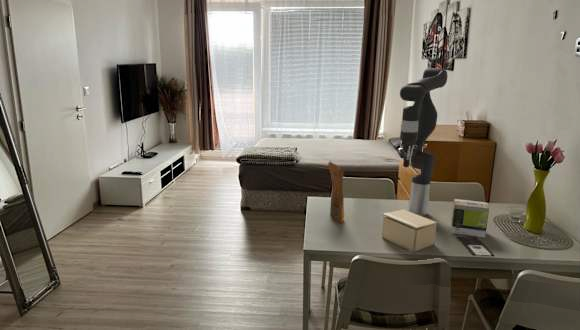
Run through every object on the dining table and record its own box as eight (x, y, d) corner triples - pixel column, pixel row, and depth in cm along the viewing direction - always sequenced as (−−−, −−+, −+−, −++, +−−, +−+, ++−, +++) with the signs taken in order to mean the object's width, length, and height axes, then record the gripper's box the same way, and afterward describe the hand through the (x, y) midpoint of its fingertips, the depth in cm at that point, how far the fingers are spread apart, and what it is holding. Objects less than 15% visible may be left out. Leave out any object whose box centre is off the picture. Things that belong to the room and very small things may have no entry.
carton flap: (403, 210, 201) (403, 209, 201) (437, 223, 186) (437, 222, 186) (382, 214, 192) (382, 213, 192) (416, 228, 178) (416, 227, 178)
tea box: (483, 230, 207) (487, 201, 203) (485, 238, 197) (490, 208, 194) (450, 226, 211) (454, 197, 207) (450, 233, 202) (454, 204, 198)
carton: (401, 230, 203) (403, 211, 201) (434, 244, 189) (436, 223, 187) (381, 237, 195) (383, 217, 193) (413, 252, 181) (416, 230, 179)
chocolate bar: (476, 236, 198) (494, 254, 180) (476, 238, 198) (493, 256, 180) (457, 236, 198) (472, 254, 180) (456, 238, 198) (472, 256, 180)
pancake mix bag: (333, 224, 208) (336, 169, 201) (324, 210, 226) (327, 159, 219) (346, 224, 209) (350, 169, 202) (337, 210, 227) (340, 159, 220)
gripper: (411, 127, 199) (408, 163, 204) (393, 130, 191) (390, 167, 196) (425, 129, 193) (421, 166, 198) (406, 133, 186) (403, 171, 190)
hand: (406, 166), depth 197 cm, fingers closed
